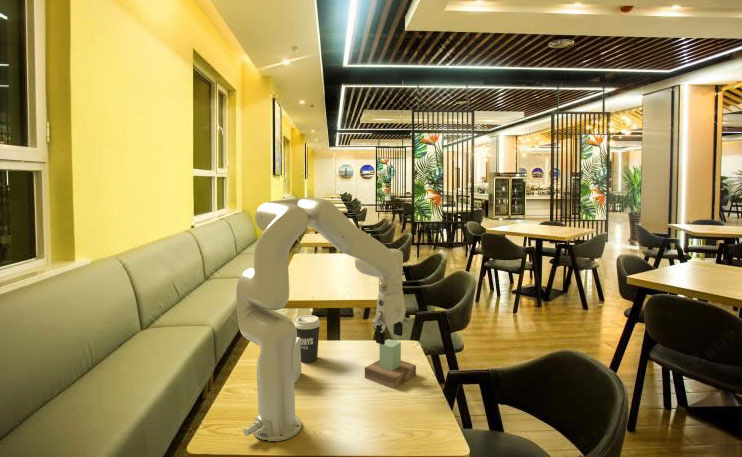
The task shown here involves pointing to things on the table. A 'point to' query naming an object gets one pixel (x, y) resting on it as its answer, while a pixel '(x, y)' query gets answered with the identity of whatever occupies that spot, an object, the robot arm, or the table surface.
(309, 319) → the coffee cup
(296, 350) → the supplement box
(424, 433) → the table surface
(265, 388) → the robot arm
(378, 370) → the block
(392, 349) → the sage block
